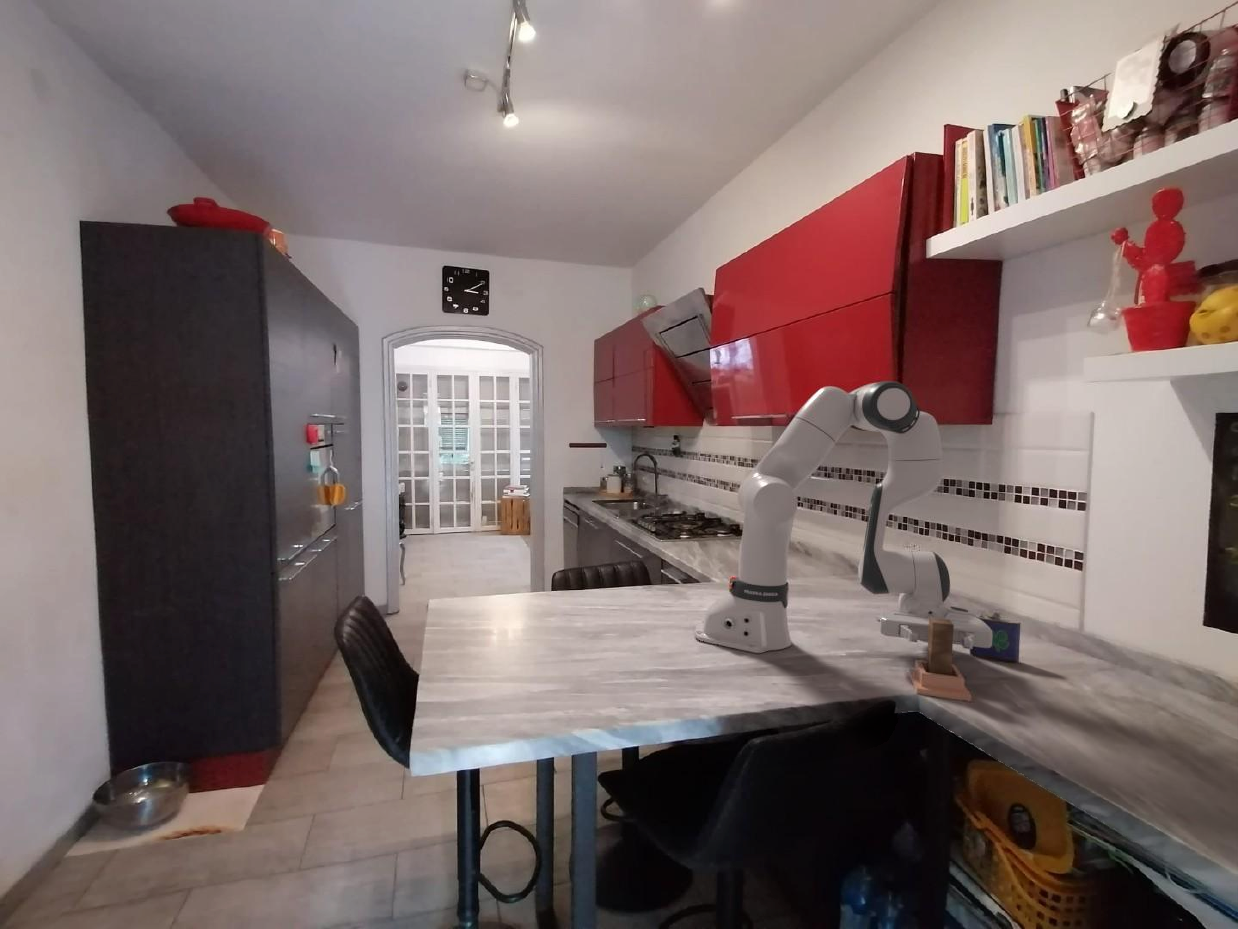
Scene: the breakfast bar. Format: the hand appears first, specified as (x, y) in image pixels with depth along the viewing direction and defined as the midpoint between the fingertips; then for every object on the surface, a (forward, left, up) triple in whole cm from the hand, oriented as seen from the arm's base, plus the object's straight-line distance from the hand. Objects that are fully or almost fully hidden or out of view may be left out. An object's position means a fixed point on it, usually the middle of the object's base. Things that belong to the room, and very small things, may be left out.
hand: (940, 641), depth 109 cm
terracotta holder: (0, 0, -9) cm, 9 cm away
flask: (+15, +22, -9) cm, 28 cm away
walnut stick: (0, 0, -8) cm, 8 cm away
